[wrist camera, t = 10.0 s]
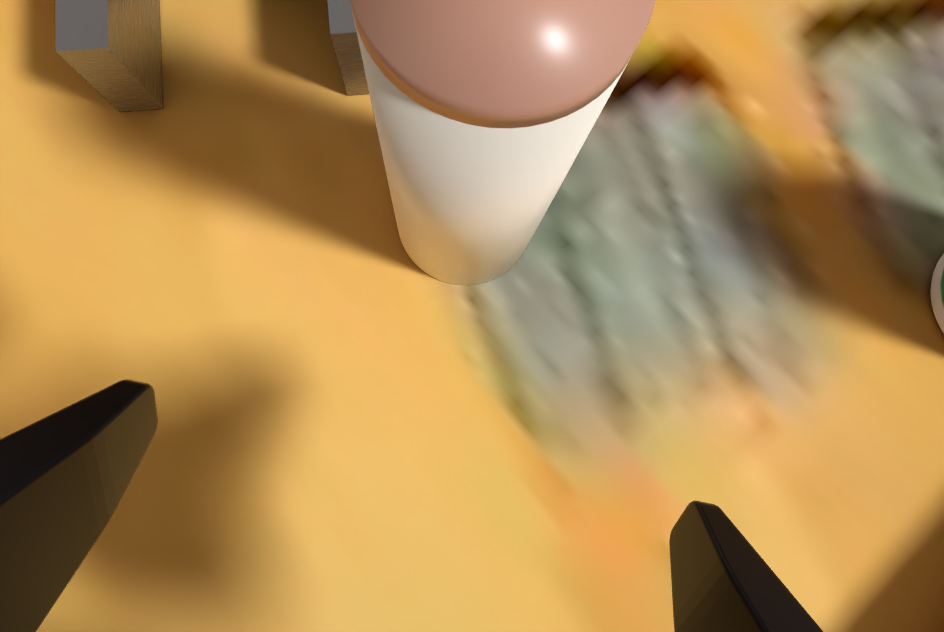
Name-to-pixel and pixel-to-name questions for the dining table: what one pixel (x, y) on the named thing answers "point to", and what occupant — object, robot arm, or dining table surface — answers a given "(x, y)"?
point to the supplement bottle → (938, 292)
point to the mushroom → (486, 115)
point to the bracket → (158, 48)
